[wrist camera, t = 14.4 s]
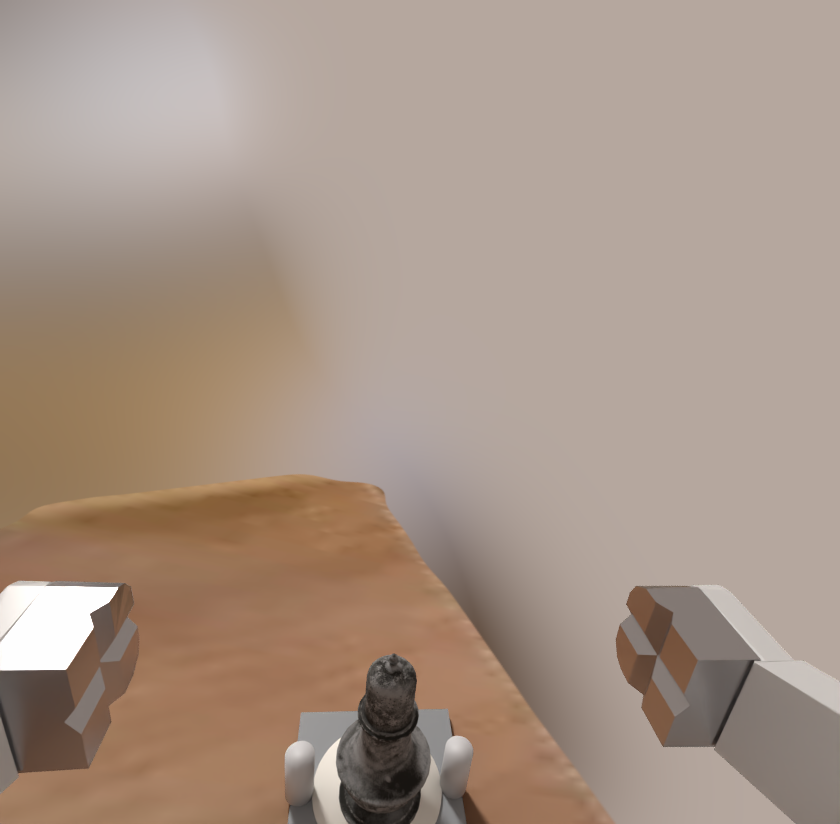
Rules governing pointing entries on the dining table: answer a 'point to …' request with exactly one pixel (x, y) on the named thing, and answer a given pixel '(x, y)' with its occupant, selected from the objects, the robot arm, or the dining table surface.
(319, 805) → the pin socket board
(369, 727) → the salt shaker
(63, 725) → the robot arm
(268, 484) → the dining table surface
